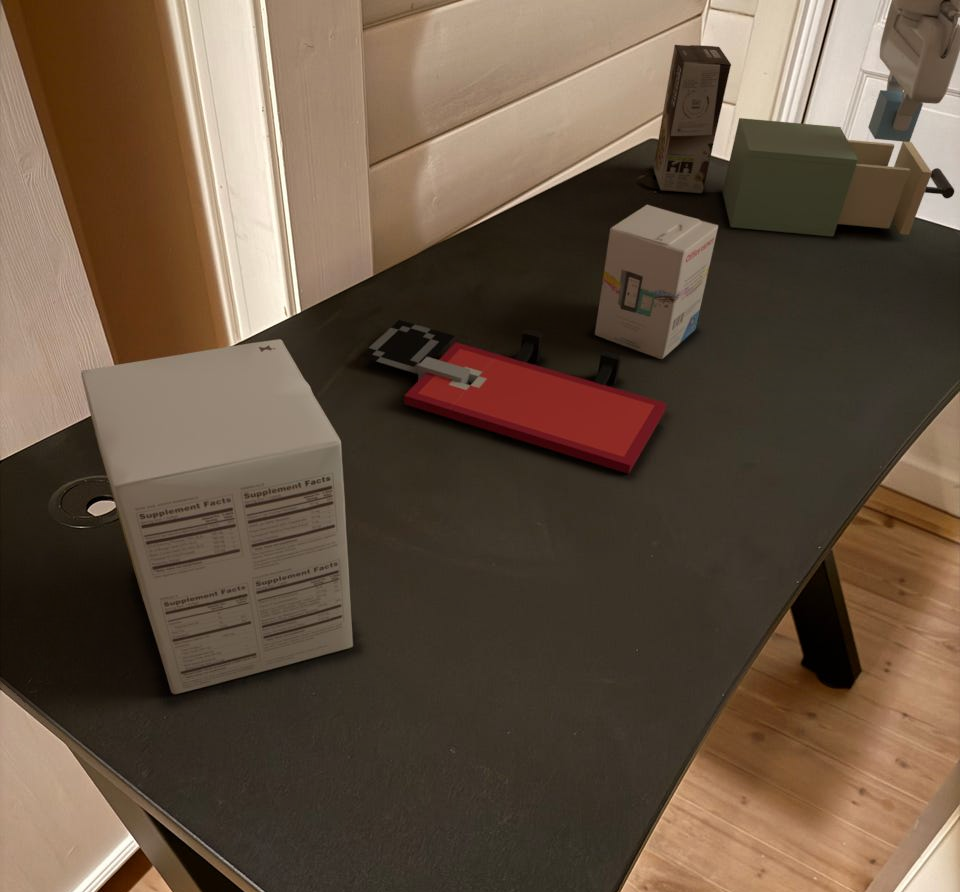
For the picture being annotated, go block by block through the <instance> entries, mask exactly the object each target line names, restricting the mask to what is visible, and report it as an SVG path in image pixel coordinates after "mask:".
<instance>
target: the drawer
mask: <svg viewBox="0 0 960 892" xmlns="http://www.w3.org/2000/svg"><path fill="white" fill-rule="evenodd" d="M847 140H848V142H849V144H850V146H851V148H852V150H853V151H854V153H855V155H856V157H857V159H858V161H857V164H856V168H855V171H854V174H853V177H852V180H851V183H850V186H849V189H848V193H847V196H846V199H845V202H844V205H843V208H842V211H841V214H840V218H839V221H838V224H837V225H844V226H845V225H846V226H855V227H856V226H857V227H867V228H868V227H869V228H880V229H887V230H888V229H890V227H891V225H892V222H893V224H894V226H895V229H896V230H897V232H898V234H900V235H905V236H906V235H907V236H909V235H910V232H911V230H912V228H913V224H914V221H915V219H916V216H917V214H918V211H919V209H920V206H921V203H922V200H923V198H924V195H925V193H926V194H936V195H941V196H942V197H943V198H944V199H950V198H952V197H953V196H954V194H955V188H954V187H953V185H952V184H951V183H950V181H949V180H948V178H947V177H946V175H945V174H944V173H943V171H942V170H941V169H940V168H939V167H937V168H933V169H932V170H931V169H930V167H929V166H928V164H927V163H926V161H925V160H924V158H923V157H922V155H921V154H920V153H919V151H918V149H917V148H916V147H915V145H914V143H913V142H912V141H910V142H903V141H901V146H900V148H899V151H898V153H897V157H896V160H895V163H894V166H889V163H890V160H891V157H892V155H893V152H894V149H895V144H894V143H888V142H887V143H886V142H878V141H877V142H876V141H867V140H866V141H865V140H853V139H847ZM930 179H931V180H932V183H934V185H935V186H928V185H929V181H930Z"/></svg>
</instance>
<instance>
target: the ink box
mask: <svg viewBox="0 0 960 892" xmlns="http://www.w3.org/2000/svg"><path fill="white" fill-rule="evenodd" d="M718 230H719V224H716V223H712V222H708V221H705V220H701V219H699V218H695V217H692V216H687V215H684V214H681V213H677V212H674V211H671V210H667V209H663V208H660V207H657V206H654V205H650V204H645V205H644V206H643V207H641V208H640V209H638V210H636V211H635V212H633V213H631V214H630V215H629V216H627V217H626V218H624V219H622V220H621V221H619V222H618V223H616V224H614V225H613V226H611V227H610V229H609V234H608V243H607V249H606V256H605V263H604V270H603V275H602V277H603V278H602V282H601V283H602V284H601V289H600V290H601V291H600V297H599V303H598V305H599V306H598V310H597V316H596V323H595V329H594V330H595V331H594V335H595V336H597V337H599V338H602V339H605V340H607V341H609V342H613V343H615V344H618V345H620V346H623V347H625V348H629V349H632V350H634V351H637V352H640V353H642V354H645V355H648V356H651V357H653V358H656V359H659V360H663V359H664V358H666V356H668V355H669V354H670V353H671V352H672V351H673V350H674V349H675V348H677V347H678V346H679V345H680V344H681V343H682V342H683V341H685V340H686V339H687V338H688V337H689V336H690V335H691V334H693V333H694V332H695V331H696V330H697V325H698V320H699V316H700V312H701V311H700V310H701V306H702V302H703V299H704V297H703V296H704V294H705V289H706V284H707V279H708V274H709V269H710V265H711V261H712V257H713V252H714V248H715V244H716V243H715V242H716V238H717V234H718Z"/></svg>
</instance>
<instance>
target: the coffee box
mask: <svg viewBox="0 0 960 892" xmlns="http://www.w3.org/2000/svg"><path fill="white" fill-rule="evenodd" d="M731 67H732V63H731V62H730V60H729V59H728V57H727V56H726V55H725V53H724V52H723V50H722V48H721V47H720V46H714V45H701V44H700V45H697V44H695V45H694V44H691V45H686V44H685V45H684V44H674V47H673V53H672V58H671V64H670V70H669V75H668V80H667V85H666V92H665V98H664V104H663V109H662V110H663V111H662V115H661V123H660V127H659V128H660V129H659V134H658V140H657V146H656V150H655V158H654V164H653V172H654V174H655V177H656V181H657V184H658V187H659V190H660V191H663V192H664V191H665V192H680V193H693V194H702V193H703V192H704V189H705V184H706V180H707V176H708V170H709V166H710V163H711V162H710V161H711V157H712V152H713V147H714V144H715V143H714V142H715V138H716V134H717V129H718V125H719V119H720V116H721V111H722V107H723V102H724V98H725V94H726V89H727V86H728V85H727V84H728V80H729V75H730V71H731Z"/></svg>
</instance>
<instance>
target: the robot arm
mask: <svg viewBox="0 0 960 892" xmlns="http://www.w3.org/2000/svg"><path fill="white" fill-rule="evenodd" d="M959 18H960V0H891V1H890V3H889V7H888V12H887V15H886V20H885V23H884V27H883V32H882V36H881V40H880V46H879V59H880V60H881V61H882V63H883V65H884V66H885V67H886V68H887V70H888V71H889V75H888V77H887V82H886V83H887V84H886V89H885V91H896V92H903V95H902V99H903V100H902V102H901V104H900V106H899V109H898V111H895V114H894V117H893V120H892V126H893V127H894V129H895V130H902V131H904V130H907V129H908V127H909V124H910V121H911V119H912V116H913V115H914V113H915V112H916V110H917V109H918V107H919V106H920V104H921V103H923V104H933V105H937V104H940V103H941V102H942V100H943V99H944V97H945V96H946V94H947V92H948V90H949V86H950V83H951V81H952V77H953V74H954V71H955V68H956V65H957V62H958V58H959V55H960V24H959V23H958V22H959Z"/></svg>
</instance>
